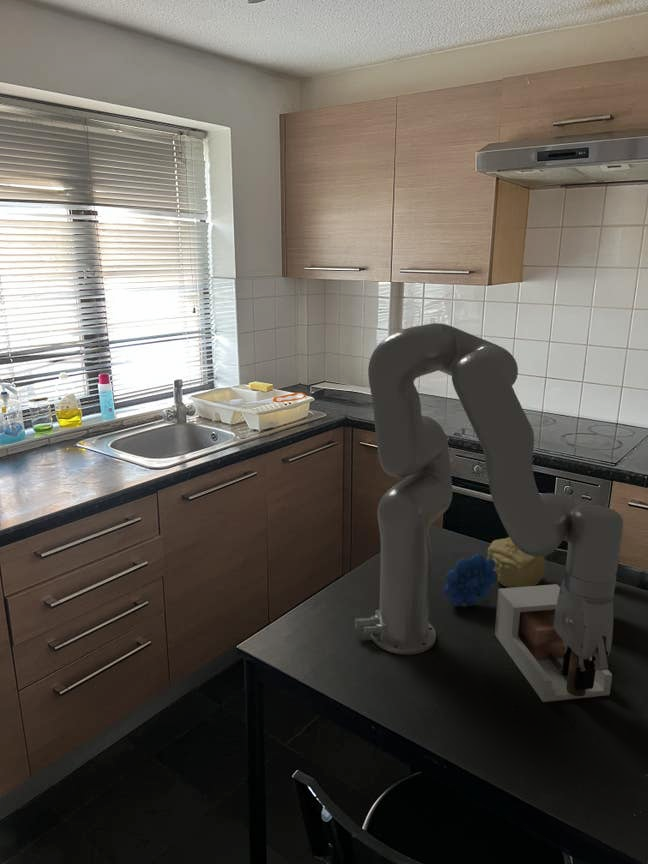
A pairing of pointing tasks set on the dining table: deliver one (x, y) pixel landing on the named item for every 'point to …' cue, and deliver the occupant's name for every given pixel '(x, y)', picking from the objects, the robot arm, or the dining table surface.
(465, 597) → the grapes
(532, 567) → the sculpture
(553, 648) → the wooden mallet
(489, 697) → the dining table surface
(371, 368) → the robot arm
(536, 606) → the shelf lane
